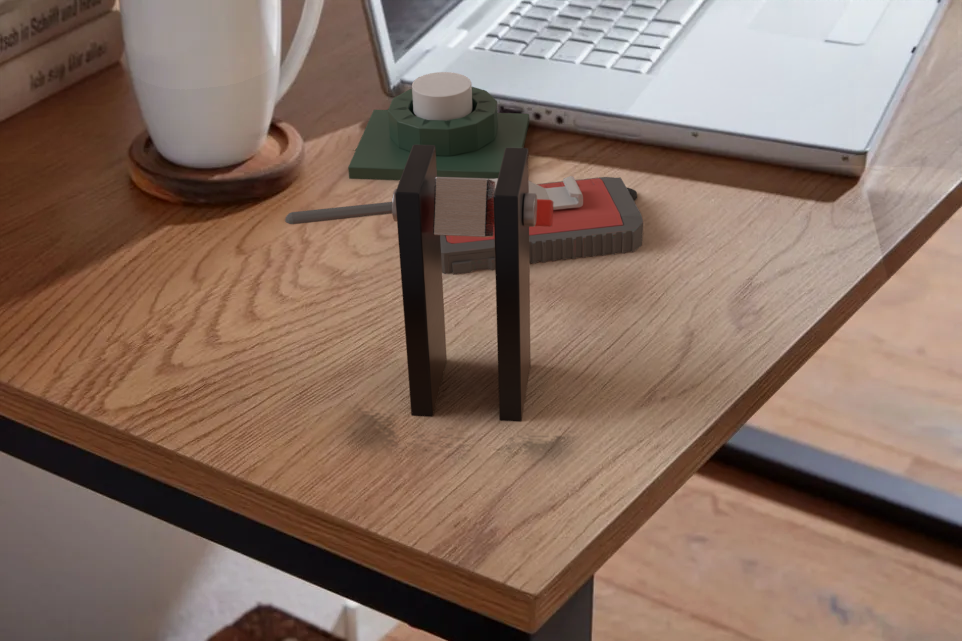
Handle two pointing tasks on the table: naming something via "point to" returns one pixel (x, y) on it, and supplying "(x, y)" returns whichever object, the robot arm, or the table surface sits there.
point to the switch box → (438, 140)
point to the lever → (473, 207)
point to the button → (442, 96)
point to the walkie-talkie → (575, 231)
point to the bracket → (426, 285)
